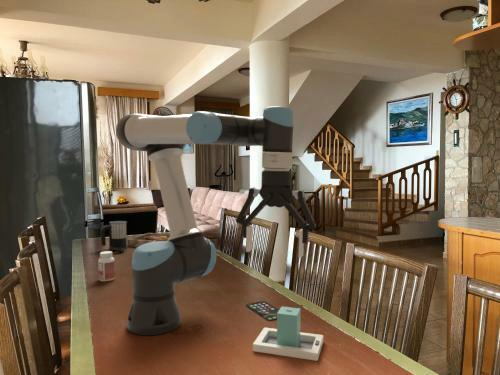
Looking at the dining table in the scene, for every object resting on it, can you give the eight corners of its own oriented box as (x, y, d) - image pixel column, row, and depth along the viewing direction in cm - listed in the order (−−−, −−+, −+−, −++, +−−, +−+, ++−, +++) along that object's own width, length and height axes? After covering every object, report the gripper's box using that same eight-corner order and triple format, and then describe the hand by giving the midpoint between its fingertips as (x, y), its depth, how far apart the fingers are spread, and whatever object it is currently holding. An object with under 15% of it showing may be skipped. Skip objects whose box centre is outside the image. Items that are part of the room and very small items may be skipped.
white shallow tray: (252, 351, 98) (252, 342, 98) (264, 333, 108) (264, 326, 108) (317, 360, 93) (317, 352, 93) (323, 341, 103) (323, 334, 103)
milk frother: (120, 246, 222) (120, 220, 221) (138, 249, 212) (137, 222, 211) (97, 250, 211) (97, 223, 210) (115, 254, 201) (114, 226, 200)
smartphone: (268, 320, 116) (244, 304, 129) (268, 323, 116) (244, 306, 129) (289, 316, 120) (264, 300, 133) (289, 318, 120) (264, 302, 133)
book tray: (127, 246, 221) (127, 239, 221) (148, 239, 241) (148, 232, 241) (164, 249, 214) (164, 241, 213) (183, 241, 234) (183, 235, 234)
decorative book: (154, 248, 216) (154, 239, 216) (142, 244, 229) (142, 235, 229) (172, 246, 223) (172, 237, 223) (160, 241, 236) (160, 233, 236)
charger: (277, 348, 99) (277, 313, 98) (281, 339, 104) (281, 306, 103) (296, 351, 97) (296, 315, 97) (300, 342, 102) (300, 308, 101)
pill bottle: (117, 277, 162) (116, 250, 161) (112, 281, 155) (111, 254, 155) (101, 277, 161) (101, 250, 161) (96, 281, 155) (95, 254, 154)
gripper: (224, 168, 99) (223, 251, 100) (325, 172, 91) (322, 261, 93) (234, 167, 106) (233, 245, 108) (329, 171, 98) (325, 254, 100)
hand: (274, 253), depth 100 cm, fingers open, 13 cm apart
